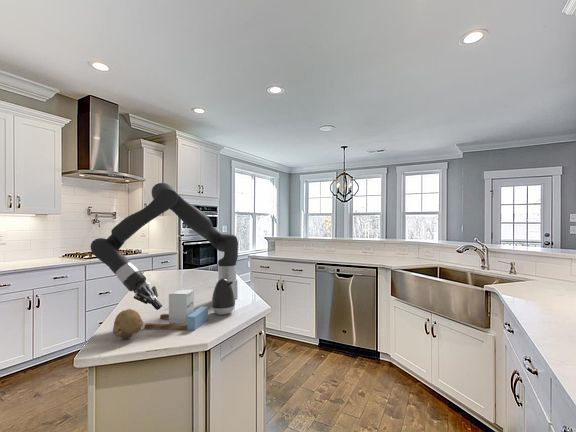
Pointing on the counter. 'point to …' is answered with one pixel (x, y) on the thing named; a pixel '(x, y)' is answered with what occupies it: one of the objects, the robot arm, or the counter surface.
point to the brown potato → (127, 324)
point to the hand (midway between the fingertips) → (159, 308)
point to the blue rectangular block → (197, 318)
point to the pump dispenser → (223, 297)
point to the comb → (165, 325)
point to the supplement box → (180, 306)
